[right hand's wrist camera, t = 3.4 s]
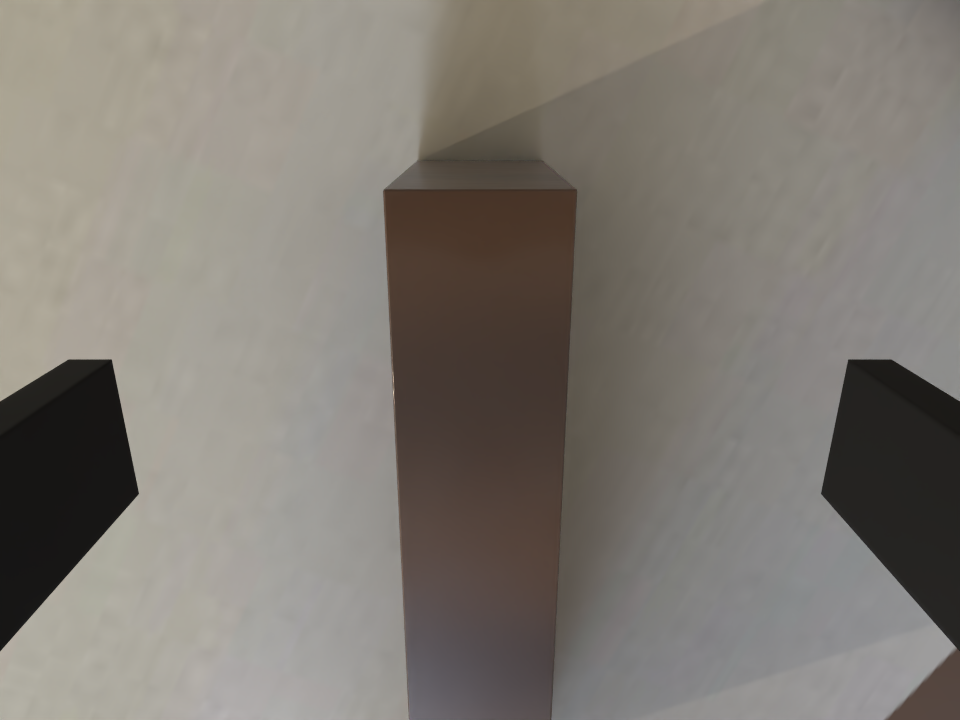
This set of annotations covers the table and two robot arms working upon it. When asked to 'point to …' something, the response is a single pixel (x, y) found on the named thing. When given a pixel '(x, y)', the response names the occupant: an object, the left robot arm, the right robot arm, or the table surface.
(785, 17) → the table surface
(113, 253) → the table surface
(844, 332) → the table surface
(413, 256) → the walnut box
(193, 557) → the table surface
